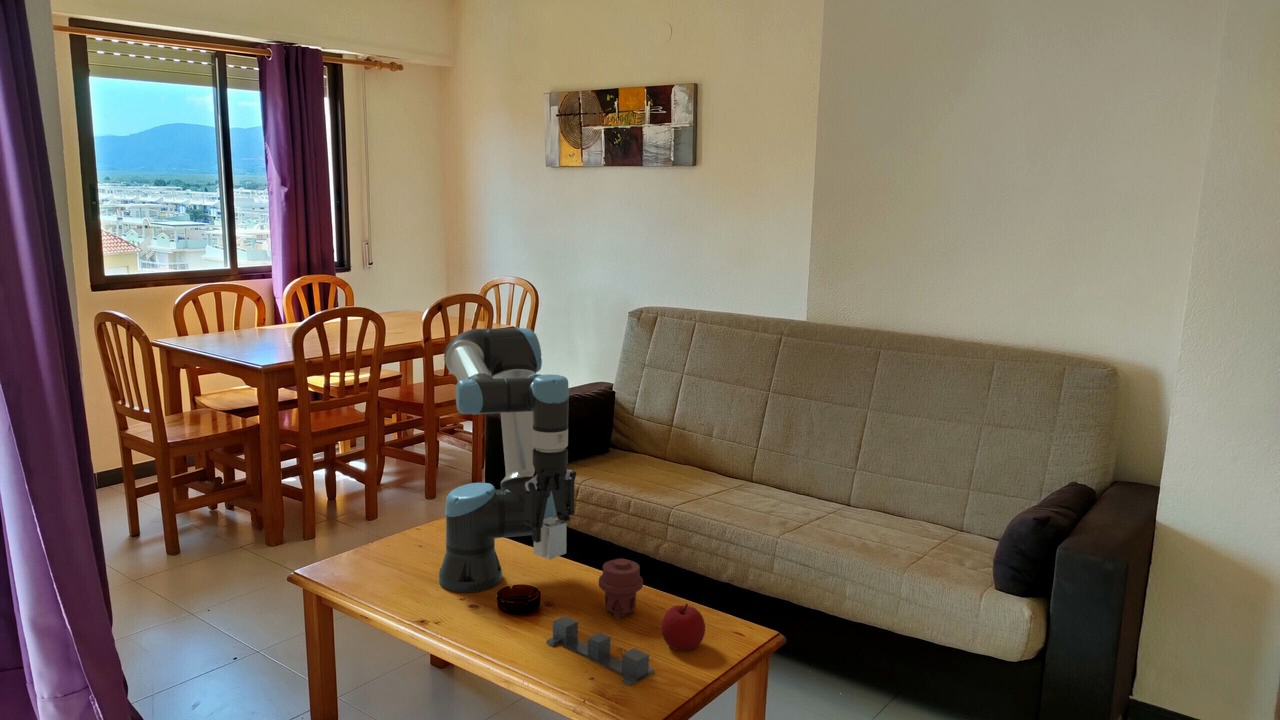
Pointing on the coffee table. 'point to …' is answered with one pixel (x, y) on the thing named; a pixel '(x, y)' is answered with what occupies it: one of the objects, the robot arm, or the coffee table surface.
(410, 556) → the coffee table surface
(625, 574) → the mechanical component
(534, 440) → the robot arm
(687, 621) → the apple
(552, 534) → the block
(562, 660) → the coffee table surface
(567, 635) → the rail
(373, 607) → the coffee table surface
